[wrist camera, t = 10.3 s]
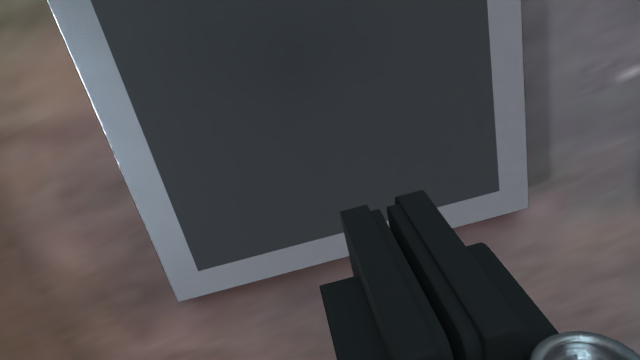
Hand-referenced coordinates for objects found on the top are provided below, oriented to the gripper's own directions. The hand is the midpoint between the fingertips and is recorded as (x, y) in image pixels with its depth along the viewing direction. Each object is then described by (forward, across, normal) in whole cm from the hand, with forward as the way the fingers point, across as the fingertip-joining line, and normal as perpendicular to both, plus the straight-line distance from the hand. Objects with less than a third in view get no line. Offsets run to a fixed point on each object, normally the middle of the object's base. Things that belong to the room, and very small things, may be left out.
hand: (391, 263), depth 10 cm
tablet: (+9, 0, -6) cm, 11 cm away
